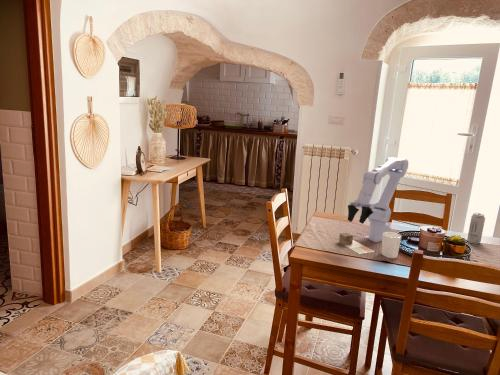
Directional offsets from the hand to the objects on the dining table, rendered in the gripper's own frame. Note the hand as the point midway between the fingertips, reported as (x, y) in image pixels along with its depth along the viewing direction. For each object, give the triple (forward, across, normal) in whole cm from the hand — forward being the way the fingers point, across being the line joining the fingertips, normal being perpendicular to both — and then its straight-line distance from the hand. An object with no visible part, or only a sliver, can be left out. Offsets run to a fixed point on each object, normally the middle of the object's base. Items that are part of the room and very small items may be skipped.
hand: (355, 221), depth 175 cm
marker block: (+9, -10, +8) cm, 15 cm away
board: (+10, -5, +10) cm, 14 cm away
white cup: (+8, +8, +18) cm, 22 cm away
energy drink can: (-19, +11, +68) cm, 72 cm away
